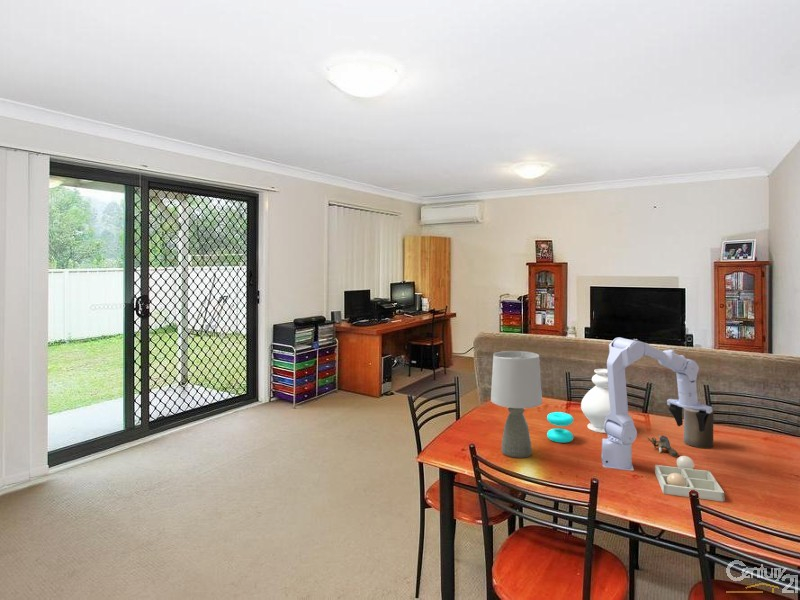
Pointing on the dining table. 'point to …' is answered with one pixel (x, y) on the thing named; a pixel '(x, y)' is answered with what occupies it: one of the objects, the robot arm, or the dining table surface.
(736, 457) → the dining table surface
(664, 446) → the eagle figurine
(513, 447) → the lamp
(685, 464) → the cream egg
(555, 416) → the donuts
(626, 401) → the robot arm
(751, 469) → the dining table surface
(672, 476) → the brown egg
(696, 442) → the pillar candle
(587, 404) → the decorative vase
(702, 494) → the egg tray
